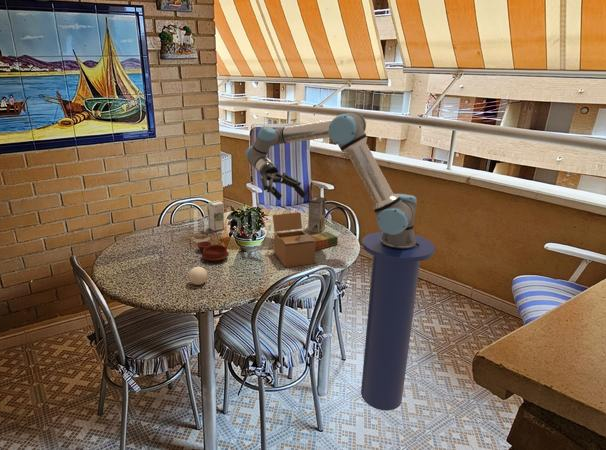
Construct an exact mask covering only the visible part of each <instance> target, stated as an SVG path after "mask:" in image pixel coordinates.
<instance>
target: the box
mask: <svg viewBox="0 0 606 450" xmlns="http://www.w3.org/2000/svg"><path fill="white" fill-rule="evenodd" d="M273 237H274V239H273V240H274V242H273V243H274V245H273V247H274V250H273V253H274V255H275V256H276V258H277V259H278V260H279V262H281V264H282V265H283V267H284V268H289V267H296V266H304V265H312V264H315V263H316V261H315V260H316V250H315V242H314V241H315V240H314V239H313V238H312V237H311V235H310V234H307V233H306V232H305V231H304V230H303V229H299V230H290V231H281V232H274V236H273Z"/></svg>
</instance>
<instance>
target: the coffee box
mask: <svg viewBox="0 0 606 450" xmlns="http://www.w3.org/2000/svg"><path fill="white" fill-rule="evenodd" d="M326 201H327V198H326V197H321V196H315V195H314V196H312V198H311V199H309V200H308V216H307V217H308V218H307V219H308V220H307V232H311V233H316V234H319V233H322V231H323V230H324V229H325V227H326V204H327V203H326Z"/></svg>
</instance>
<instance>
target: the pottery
mask: <svg viewBox="0 0 606 450" xmlns="http://www.w3.org/2000/svg"><path fill="white" fill-rule="evenodd" d="M196 246H197V248H198V249H199V250H200V251H201V252H202V253H201V257H202V258H203V259H204V260H207V261H210V262H215V263H217V262H220V261H222V260H224V259H226V258H228V257H229V255H230V254H229V251H228V249H227V248H228V247H226V246H224V245H221V244H213V245H212V243H211V241H200V242H198V243H197V244H196Z"/></svg>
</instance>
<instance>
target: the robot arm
mask: <svg viewBox="0 0 606 450" xmlns="http://www.w3.org/2000/svg"><path fill="white" fill-rule="evenodd" d="M366 129H367V122H366V119H365V117H364V116H363V115H362V114H361V113H359V112H355V111H350V112H347V113H340V114H339V115H337V116H335V117H334V118H333V119H328V120H322V121H321V120H320V121H316V122H310V123H302V124H297V125H291V126H284V127H277V128H273V127H271V126H268V125H262V126H261V128H260V129H259V131H258V133H257V136H256V139H255V141H254V142H253V145H251V146H248V147H247V149H246V150H245V152H244V156H245V159H246V160H247V161H248V163H249V164H250V165H251V166H252V167H253V168H254V169H255V170H256V171H257V172H258V173H259V174H260V178H259V180H260V181H261V184H262V189H263V190H262V191H266V193H271V195H273V196H274V198H275V199H276V200H277V201H281V198H282V196H283V195H282V193H281V192H280V191H279V190H278V189H277V188H276V187H275V186H274V185H273V183H274V184H277V183H278V184H281V185H283V184H284V185H286V186H288V187H290V188H292V189H293V190H294V191H295V192H296V193H297V194H298V196H300V198H301V199H304V198H305V197H306V193H307V192H306V191H304V189H303V188H302V187H301V184H302V182H300V181H299V180H297V179H296V178H293V177H292V176H290V175H288V174H287V173H286V172H283V173H282V174H281V173H280V172H279V170H278V168H277V167H276V165H275V164H274V163H273V162H272V161H271V160H270V159H269V158H268V157H267V155H268V153H269V151H270V148H271V147H274V146H277V145H281V144H288V143H298V142H304V141H312V140H319V139H320V140H321V139H328V138H329V140H330V141H332V142H333V143H335V144H336V145H338V148H339V149H340V151H341V153H345V154H347V156H348V158H349V160H350V162H351V163H352V165H353V167H354V169H355V171H356V172H357V174H358V176H359V178H360V180H361V182H362V183H363V185H364V187H365V189H366V191H367V192H368V194H369V197H370V198H371V200H372V202H373V207H372V210H373V212H374V213H375V215H376V223H377V224H376V225H377V227H378V228H379V230H380V232H383V234H382V236H381V241H380V242H381V244H382V245H384V246H385V247H388V248H391V249H397V250H408V249H412V248H414V247H415V246H416V245H418V246H419V245H420V244H418V243H416V239H415V235H416V234H415V231H414V226H415V217H416V210H417V204H418V203H417V201H418V200H417V197H416V196H415V195H412V194H405V193H394V192H393V190H392V188H391V185H390V184H389V183H388V181H387V178H386V177H385V175H384V174H383V172H382V170H381V168H380V165H379V164H378V162H377V160H376V159H375V157H374V155H373V153H372V152H371V150H370V148H369V146H368V144H367V140H368V136H367V133H366V132H365V131H366ZM268 181H269V182H268Z"/></svg>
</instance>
